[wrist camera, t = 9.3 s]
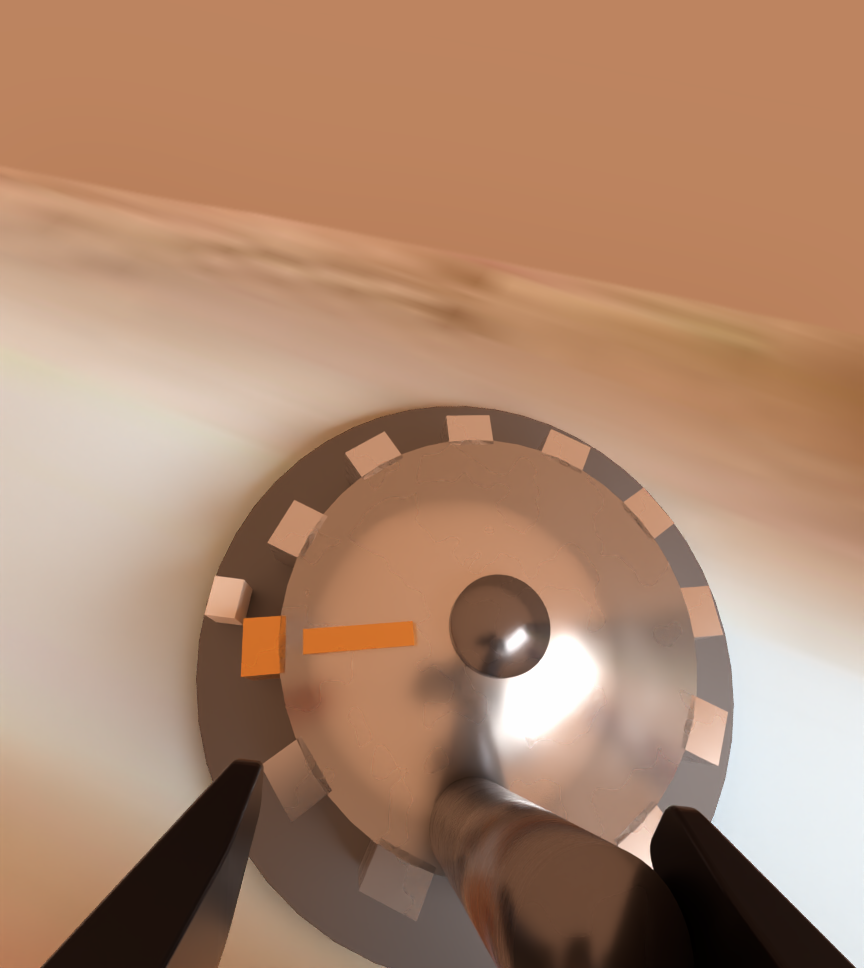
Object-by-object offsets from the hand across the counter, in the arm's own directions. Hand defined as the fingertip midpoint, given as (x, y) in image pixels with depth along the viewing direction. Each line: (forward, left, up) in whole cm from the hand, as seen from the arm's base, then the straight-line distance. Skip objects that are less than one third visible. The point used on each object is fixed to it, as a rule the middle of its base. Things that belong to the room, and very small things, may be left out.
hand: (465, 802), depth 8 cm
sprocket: (+4, +1, -9) cm, 10 cm away
